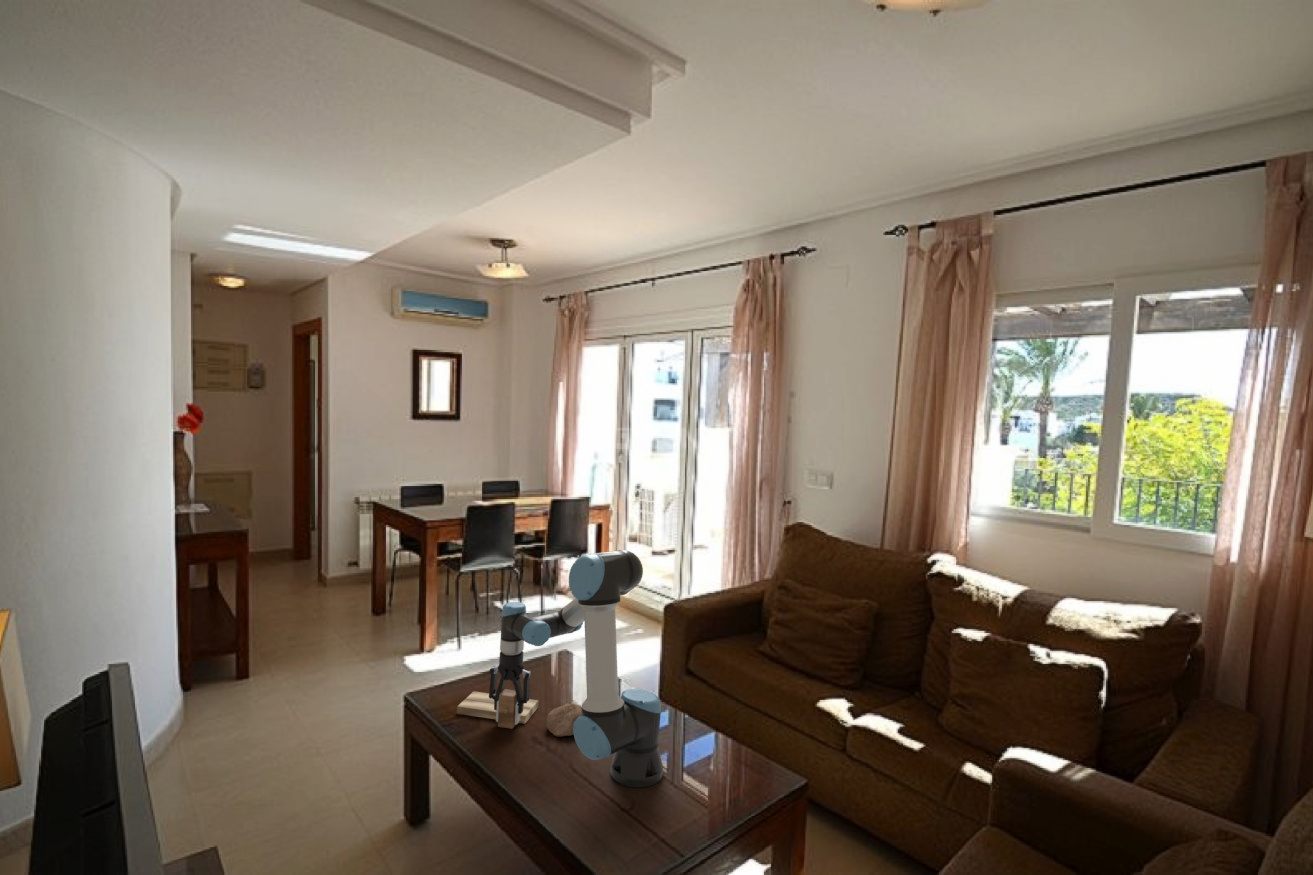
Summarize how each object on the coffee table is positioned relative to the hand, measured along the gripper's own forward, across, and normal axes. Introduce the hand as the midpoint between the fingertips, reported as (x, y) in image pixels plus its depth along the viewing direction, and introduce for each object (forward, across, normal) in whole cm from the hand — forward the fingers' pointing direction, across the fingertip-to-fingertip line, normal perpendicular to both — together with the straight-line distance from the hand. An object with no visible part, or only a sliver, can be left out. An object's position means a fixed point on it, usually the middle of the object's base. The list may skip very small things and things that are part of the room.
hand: (507, 720), depth 205 cm
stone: (+2, -19, -2) cm, 19 cm away
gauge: (+1, 0, -5) cm, 5 cm away
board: (+1, +7, -8) cm, 11 cm away
